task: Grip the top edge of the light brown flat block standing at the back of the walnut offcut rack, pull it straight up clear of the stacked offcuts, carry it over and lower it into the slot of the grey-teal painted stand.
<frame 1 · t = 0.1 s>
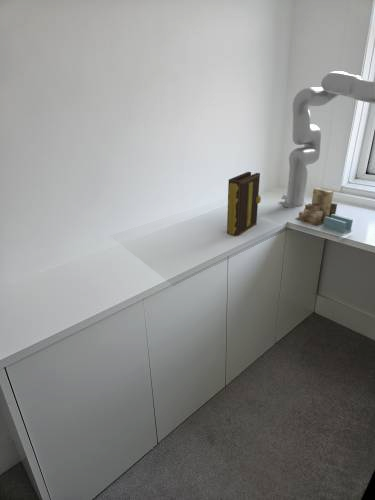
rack: (313, 221, 162), on the cabinet
light brown flat block: (319, 217, 163), point 1 cm above the cabinet, touching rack
book: (242, 228, 157), on the cabinet
stand: (336, 230, 151), on the cabinet
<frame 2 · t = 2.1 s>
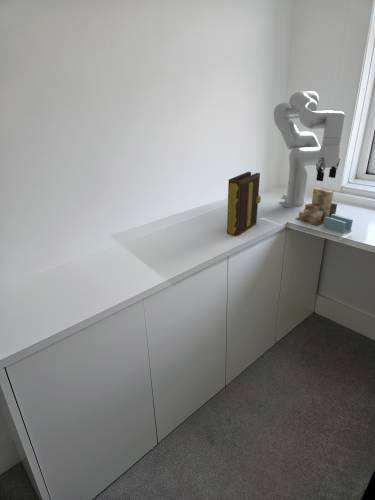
hand: (325, 179, 154), 21 cm above the cabinet, fingers open, 9 cm apart
nothing on the cabinet moved.
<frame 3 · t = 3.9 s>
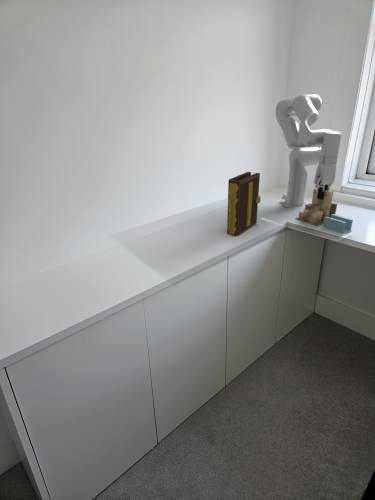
hand: (322, 198, 159), 11 cm above the cabinet, fingers closed on light brown flat block, 2 cm apart
light brown flat block: (319, 217, 163), point 1 cm above the cabinet, touching gripper
everything else where it was.
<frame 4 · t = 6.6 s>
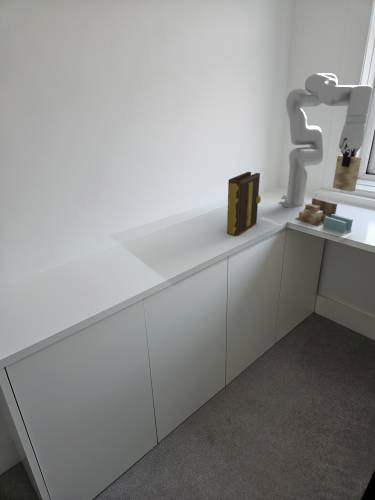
hand: (347, 165, 138), 30 cm above the cabinet, fingers closed on light brown flat block, 2 cm apart
light brown flat block: (343, 189, 142), point 19 cm above the cabinet, touching gripper
everything else where it was.
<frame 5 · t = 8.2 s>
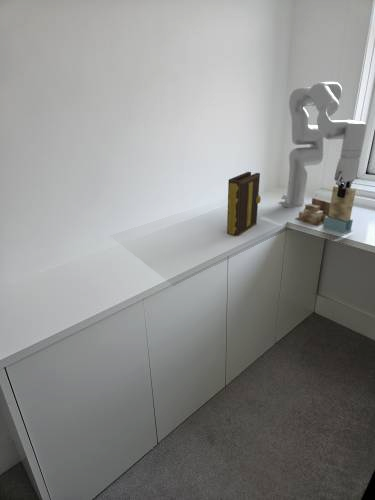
hand: (342, 196, 143), 16 cm above the cabinet, fingers closed on light brown flat block, 2 cm apart
light brown flat block: (338, 217, 148), point 6 cm above the cabinet, touching gripper
everything else where it was.
when the fingers open (12 cm above the cabinet, at t = 9.4 s): light brown flat block stays where it is, resting on stand.
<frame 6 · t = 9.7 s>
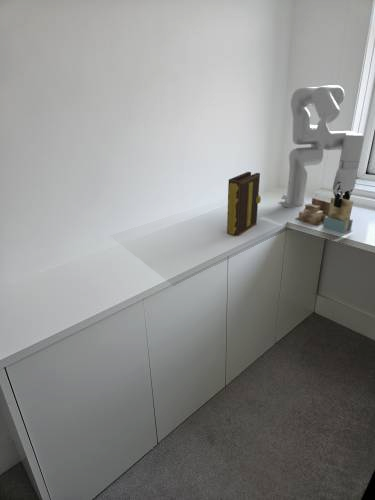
hand: (341, 205, 145), 12 cm above the cabinet, fingers open, 5 cm apart
light brown flat block: (336, 228, 150), point 1 cm above the cabinet, touching stand
everything else where it was.
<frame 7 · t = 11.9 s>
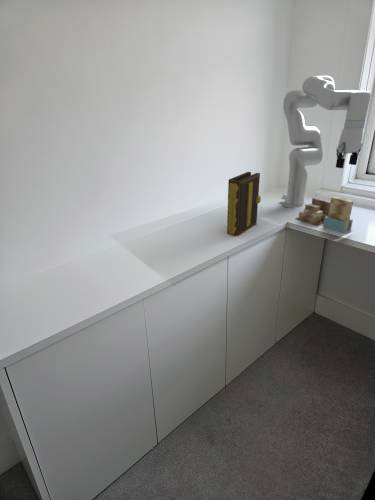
hand: (345, 166, 142), 29 cm above the cabinet, fingers open, 9 cm apart
nothing on the cabinet moved.
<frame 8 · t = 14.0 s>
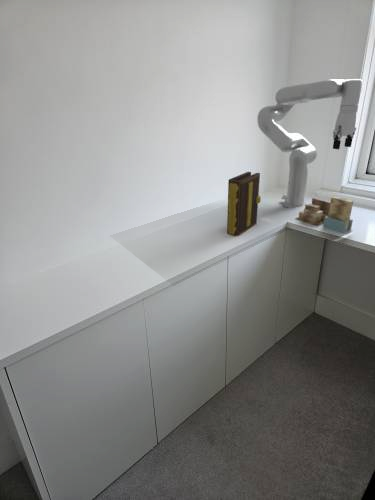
hand: (341, 147, 157), 33 cm above the cabinet, fingers open, 9 cm apart
nothing on the cabinet moved.
at the end: light brown flat block 0.1 cm off-centre on the stand, point 1.0 cm above the stand's base; light brown flat block tilted 0°; the gripper is holding nothing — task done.
